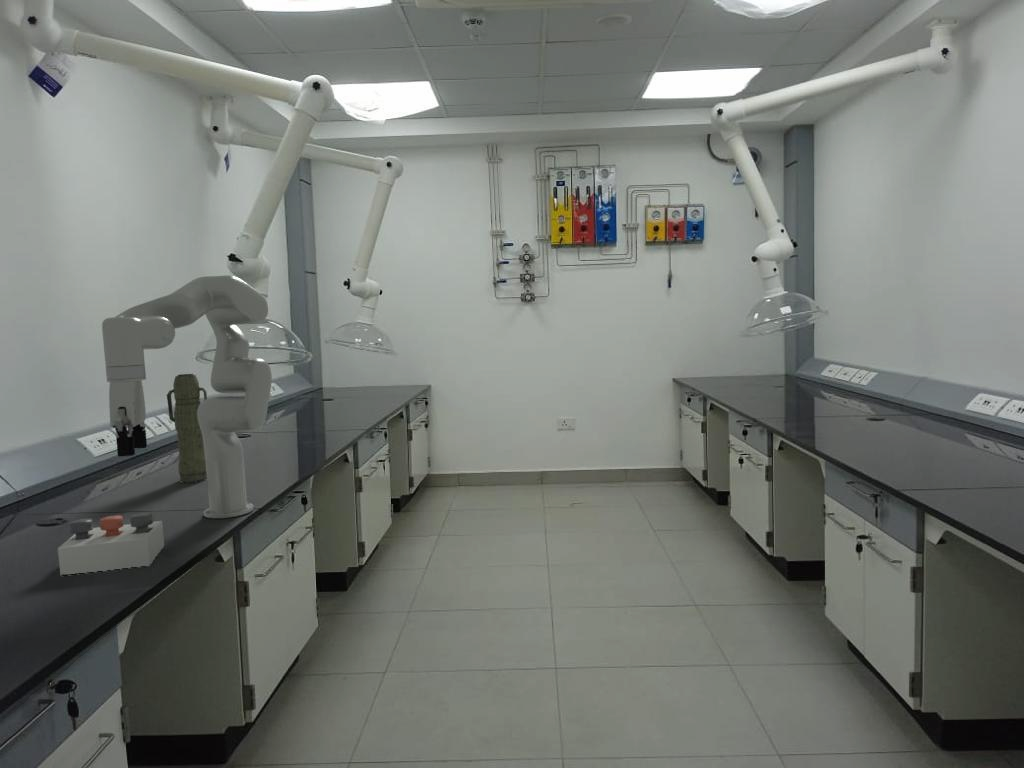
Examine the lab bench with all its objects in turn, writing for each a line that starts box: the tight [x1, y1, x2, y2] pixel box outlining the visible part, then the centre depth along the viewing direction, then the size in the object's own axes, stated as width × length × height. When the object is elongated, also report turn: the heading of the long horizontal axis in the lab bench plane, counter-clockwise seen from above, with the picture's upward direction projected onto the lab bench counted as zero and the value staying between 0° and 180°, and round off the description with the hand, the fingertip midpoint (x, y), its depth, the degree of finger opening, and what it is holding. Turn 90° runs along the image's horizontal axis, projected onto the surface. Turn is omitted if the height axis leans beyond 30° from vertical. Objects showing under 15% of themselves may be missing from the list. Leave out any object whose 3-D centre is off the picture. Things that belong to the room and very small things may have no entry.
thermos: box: [166, 373, 208, 483], centre depth 233 cm, size 9×12×35 cm
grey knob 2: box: [129, 512, 154, 533], centre depth 157 cm, size 4×4×6 cm
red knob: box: [99, 515, 124, 537], centre depth 156 cm, size 4×4×6 cm
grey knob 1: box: [68, 517, 94, 540], centre depth 155 cm, size 4×4×6 cm
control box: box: [57, 520, 165, 576], centre depth 156 cm, size 14×17×6 cm
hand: (133, 451), depth 156 cm, fingers open, 9 cm apart
